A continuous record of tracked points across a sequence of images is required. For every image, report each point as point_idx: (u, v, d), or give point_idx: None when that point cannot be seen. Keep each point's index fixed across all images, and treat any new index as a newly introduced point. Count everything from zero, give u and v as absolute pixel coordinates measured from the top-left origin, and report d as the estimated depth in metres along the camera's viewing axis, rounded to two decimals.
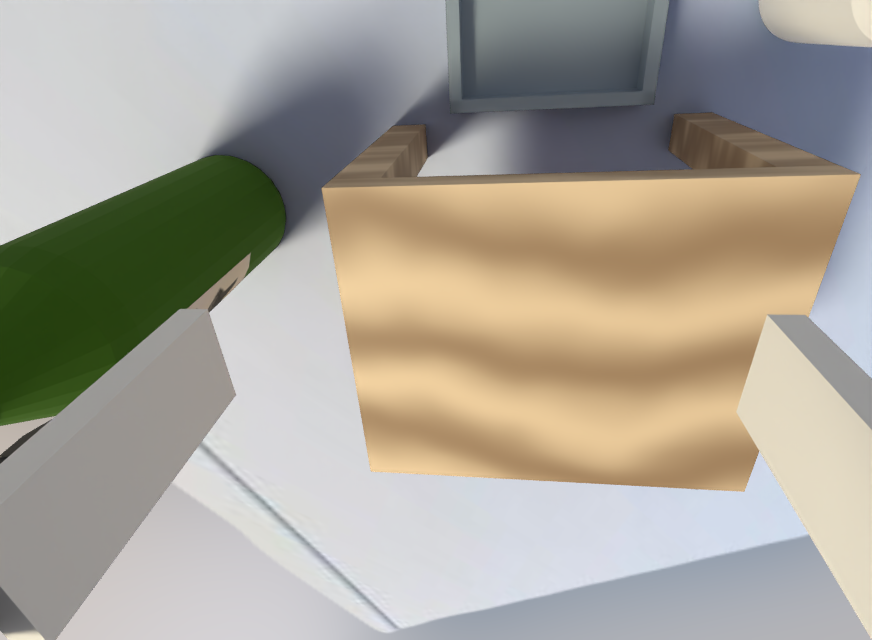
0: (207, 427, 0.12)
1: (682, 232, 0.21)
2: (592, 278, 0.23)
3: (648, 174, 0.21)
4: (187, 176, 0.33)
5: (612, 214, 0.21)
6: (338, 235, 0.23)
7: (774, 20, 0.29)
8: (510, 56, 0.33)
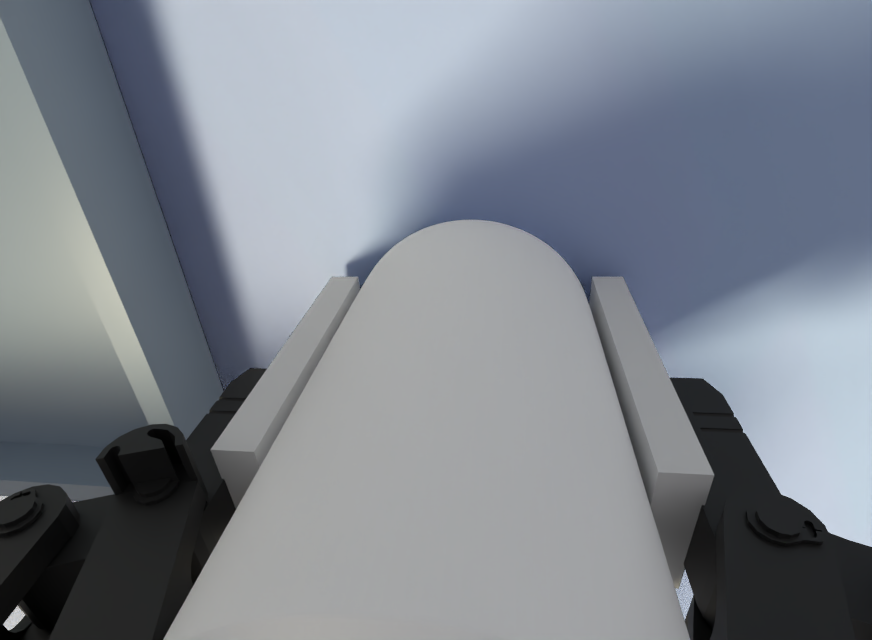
0: None
1: None
2: None
3: None
4: None
5: None
6: None
7: None
8: None
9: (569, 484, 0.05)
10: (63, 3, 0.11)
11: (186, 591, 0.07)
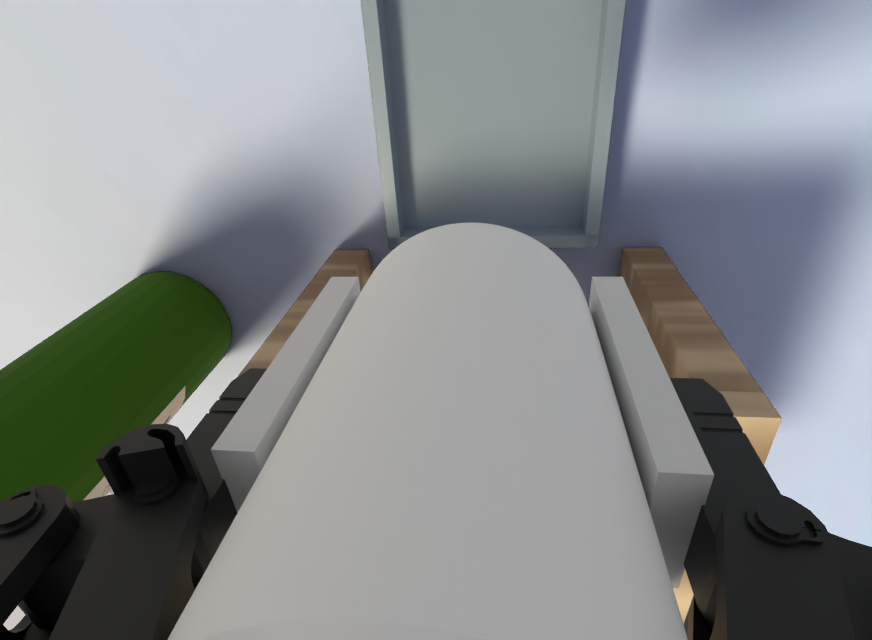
0: None
1: None
2: None
3: None
4: (116, 314, 0.32)
5: None
6: None
7: None
8: (450, 193, 0.31)
9: (570, 490, 0.05)
10: None
11: (186, 591, 0.07)
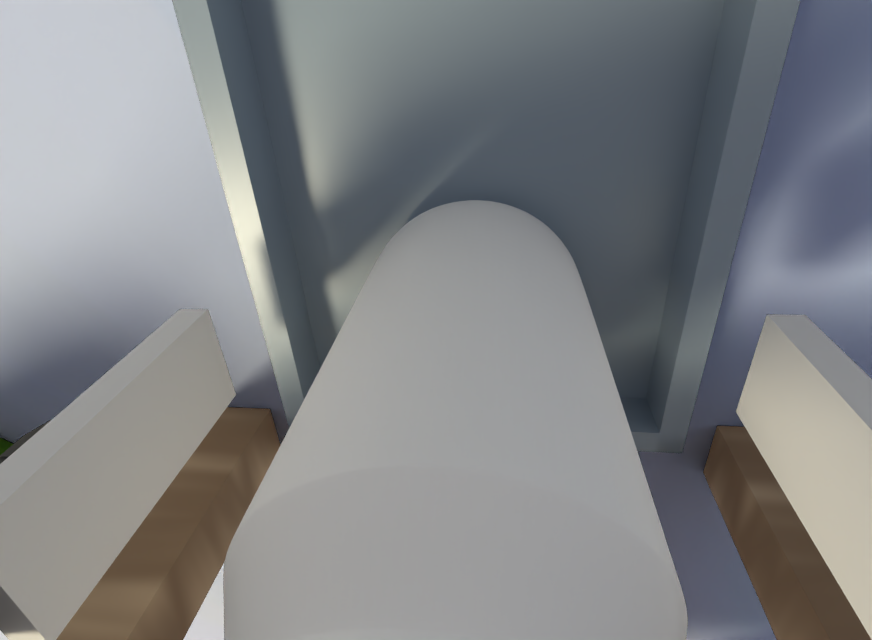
0: (207, 427, 0.12)
1: None
2: None
3: None
4: None
5: None
6: None
7: None
8: None
9: (564, 393, 0.07)
10: None
11: None
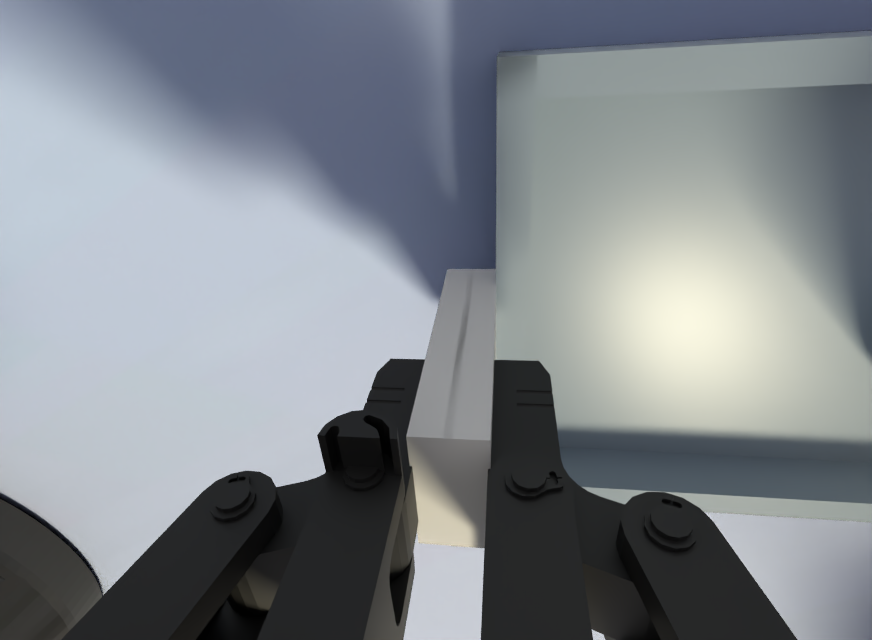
0: None
1: None
2: None
3: None
4: None
5: None
6: None
7: None
8: None
9: None
10: (685, 43, 0.11)
11: (385, 591, 0.07)
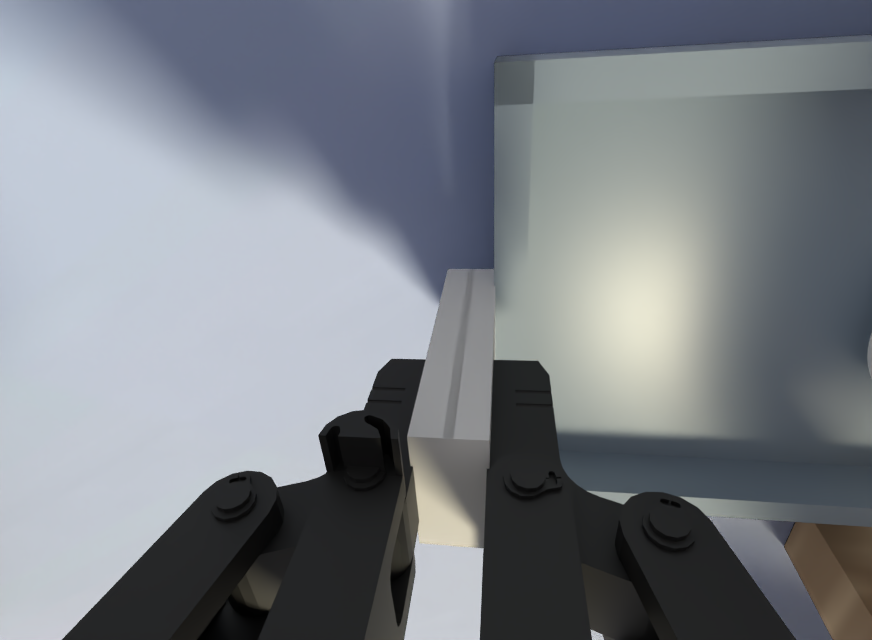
0: None
1: None
2: None
3: None
4: None
5: None
6: None
7: None
8: None
9: None
10: (683, 47, 0.11)
11: (386, 591, 0.07)
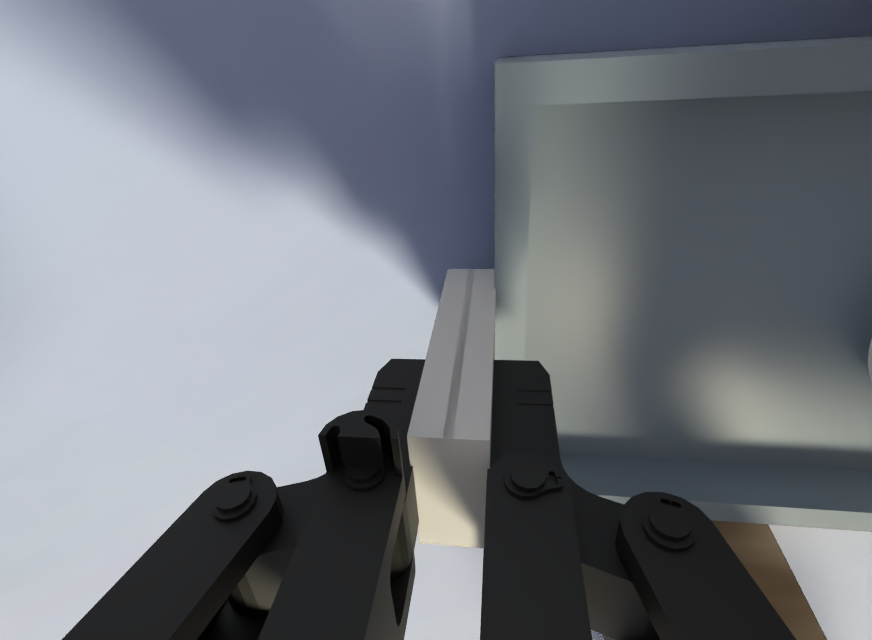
0: None
1: None
2: None
3: None
4: None
5: None
6: None
7: None
8: None
9: None
10: (685, 48, 0.11)
11: (386, 591, 0.07)
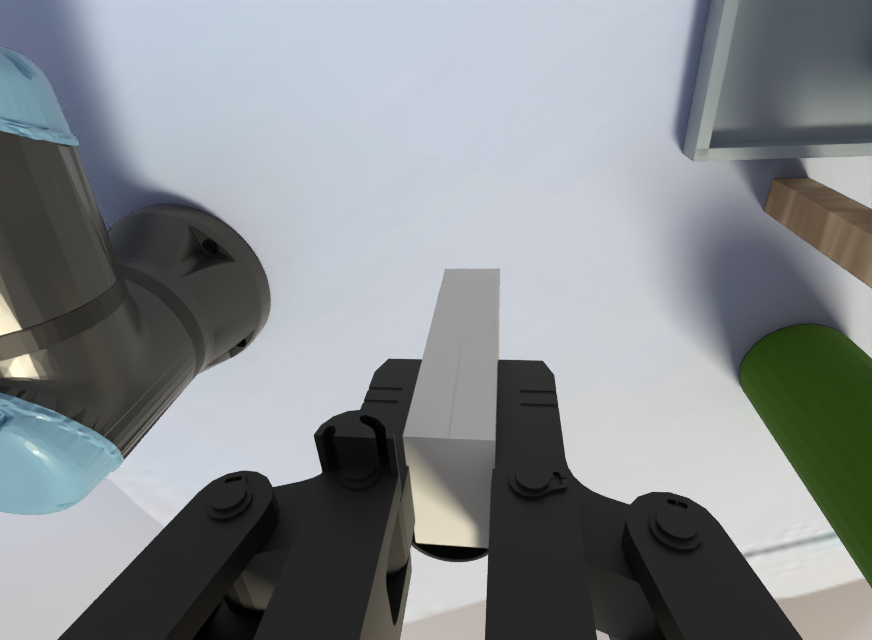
0: None
1: None
2: None
3: None
4: (779, 404, 0.38)
5: None
6: None
7: None
8: None
9: None
10: None
11: (381, 591, 0.07)
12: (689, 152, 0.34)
